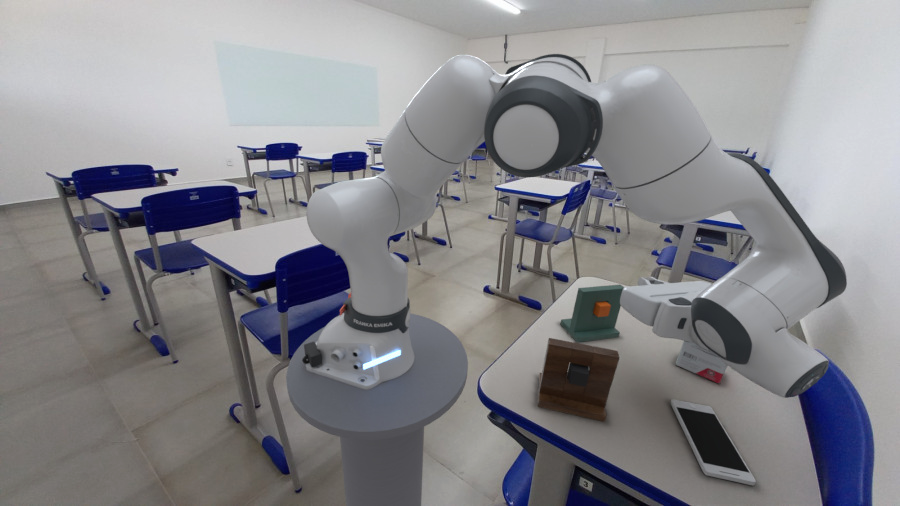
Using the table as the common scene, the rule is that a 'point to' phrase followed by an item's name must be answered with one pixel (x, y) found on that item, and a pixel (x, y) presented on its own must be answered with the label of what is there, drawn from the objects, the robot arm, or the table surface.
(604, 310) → the far switch
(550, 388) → the near plate
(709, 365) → the ink box
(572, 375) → the near switch
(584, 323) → the far plate
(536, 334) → the table surface
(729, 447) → the smartphone
